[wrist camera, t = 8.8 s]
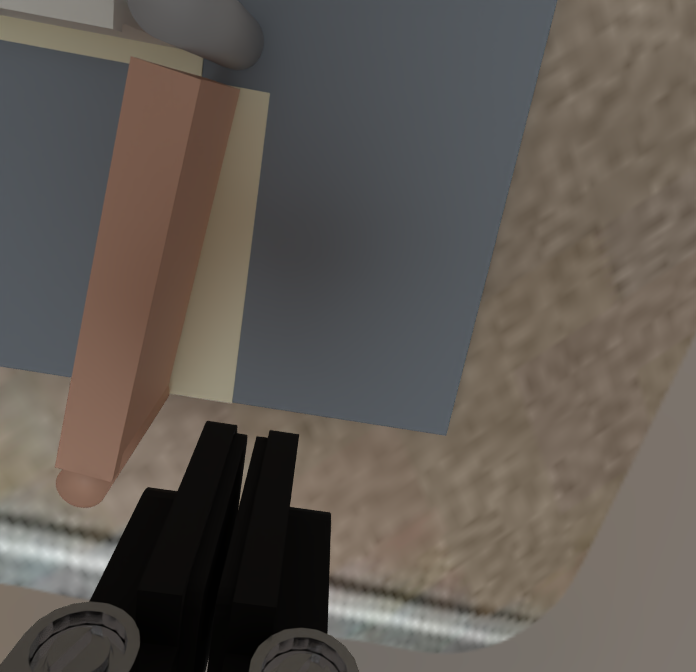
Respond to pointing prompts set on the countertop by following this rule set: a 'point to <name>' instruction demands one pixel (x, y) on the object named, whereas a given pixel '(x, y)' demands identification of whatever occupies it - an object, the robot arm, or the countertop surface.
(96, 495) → the fence panel
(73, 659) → the robot arm
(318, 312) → the board
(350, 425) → the countertop surface
